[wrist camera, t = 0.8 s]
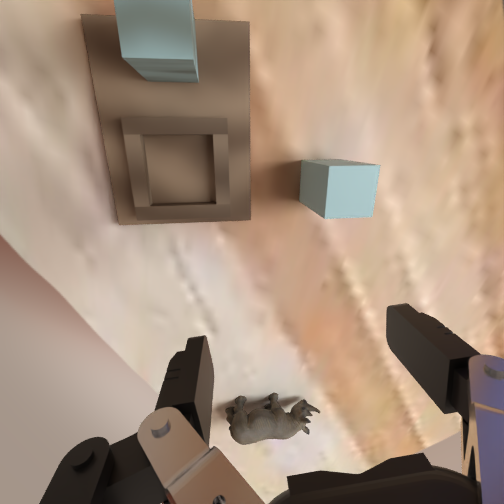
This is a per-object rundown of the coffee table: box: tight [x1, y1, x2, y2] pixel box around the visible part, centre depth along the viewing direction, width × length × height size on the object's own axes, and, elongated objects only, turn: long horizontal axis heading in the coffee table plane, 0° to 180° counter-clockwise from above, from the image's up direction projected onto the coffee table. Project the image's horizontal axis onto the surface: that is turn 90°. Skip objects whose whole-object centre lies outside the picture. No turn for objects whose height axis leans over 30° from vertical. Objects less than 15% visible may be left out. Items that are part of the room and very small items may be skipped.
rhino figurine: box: [226, 393, 320, 445], centre depth 41 cm, size 4×14×6 cm, turn 90°
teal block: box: [299, 160, 380, 219], centre depth 28 cm, size 4×4×8 cm
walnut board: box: [81, 0, 251, 225], centre depth 24 cm, size 18×14×9 cm
